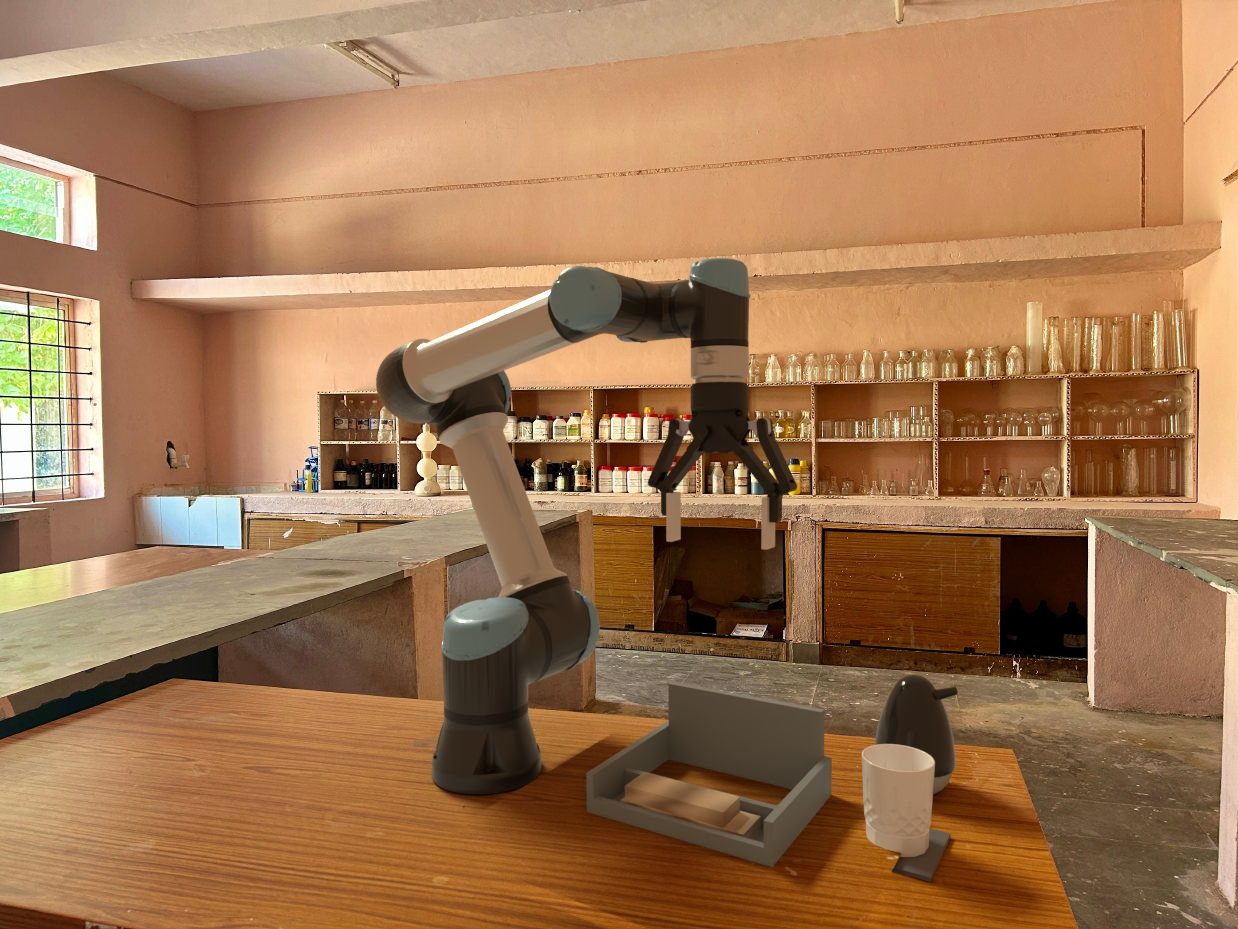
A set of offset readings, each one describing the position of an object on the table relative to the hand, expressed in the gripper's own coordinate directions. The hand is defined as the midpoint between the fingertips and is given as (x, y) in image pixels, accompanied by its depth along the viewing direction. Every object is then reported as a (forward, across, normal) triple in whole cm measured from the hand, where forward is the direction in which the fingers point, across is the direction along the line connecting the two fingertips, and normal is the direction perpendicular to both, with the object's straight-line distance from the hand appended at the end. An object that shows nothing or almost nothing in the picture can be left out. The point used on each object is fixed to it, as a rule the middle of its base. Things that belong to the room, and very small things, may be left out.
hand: (719, 544), depth 107 cm
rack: (+33, +2, -6) cm, 33 cm away
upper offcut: (+30, +1, -13) cm, 32 cm away
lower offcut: (+31, +2, -12) cm, 34 cm away
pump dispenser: (+33, +22, +14) cm, 42 cm away
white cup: (+32, +24, -3) cm, 40 cm away
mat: (+33, +23, -3) cm, 40 cm away
